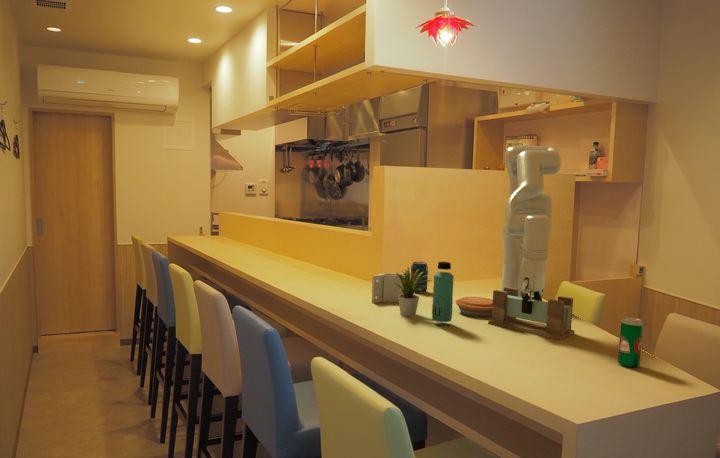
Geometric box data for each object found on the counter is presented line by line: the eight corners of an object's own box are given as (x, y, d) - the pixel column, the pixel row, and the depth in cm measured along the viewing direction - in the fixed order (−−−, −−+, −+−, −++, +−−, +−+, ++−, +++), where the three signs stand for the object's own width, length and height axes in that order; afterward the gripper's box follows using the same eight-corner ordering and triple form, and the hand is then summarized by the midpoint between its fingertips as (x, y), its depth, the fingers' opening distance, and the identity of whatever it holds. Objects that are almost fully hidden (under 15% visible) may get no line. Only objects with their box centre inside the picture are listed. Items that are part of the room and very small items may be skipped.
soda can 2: (613, 362, 143) (617, 316, 142) (632, 362, 143) (635, 316, 142) (624, 368, 138) (628, 321, 137) (643, 368, 138) (647, 321, 137)
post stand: (502, 318, 185) (504, 286, 184) (574, 333, 169) (576, 298, 169) (488, 323, 178) (490, 290, 177) (561, 339, 162) (564, 303, 161)
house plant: (416, 323, 175) (419, 272, 174) (379, 316, 183) (381, 267, 181) (435, 314, 187) (437, 267, 186) (399, 308, 195) (401, 262, 193)
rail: (498, 311, 182) (499, 293, 182) (571, 325, 167) (572, 306, 166) (493, 313, 180) (494, 294, 179) (566, 327, 164) (568, 308, 164)
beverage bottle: (453, 322, 177) (456, 261, 175) (449, 327, 171) (453, 264, 169) (433, 320, 179) (436, 259, 178) (429, 325, 173) (432, 262, 171)
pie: (501, 320, 183) (502, 305, 183) (454, 316, 186) (455, 301, 186) (499, 310, 198) (500, 296, 198) (455, 306, 202) (456, 293, 201)
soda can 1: (429, 291, 227) (431, 262, 226) (422, 294, 221) (423, 264, 220) (414, 289, 231) (416, 261, 230) (407, 291, 225) (408, 262, 224)
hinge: (372, 303, 202) (373, 276, 201) (367, 300, 207) (368, 273, 206) (407, 302, 206) (408, 275, 205) (402, 299, 211) (403, 273, 210)
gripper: (535, 251, 180) (531, 305, 182) (511, 255, 167) (507, 313, 169) (557, 254, 176) (553, 309, 177) (534, 258, 163) (531, 318, 164)
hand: (531, 311), depth 173 cm, fingers open, 6 cm apart
